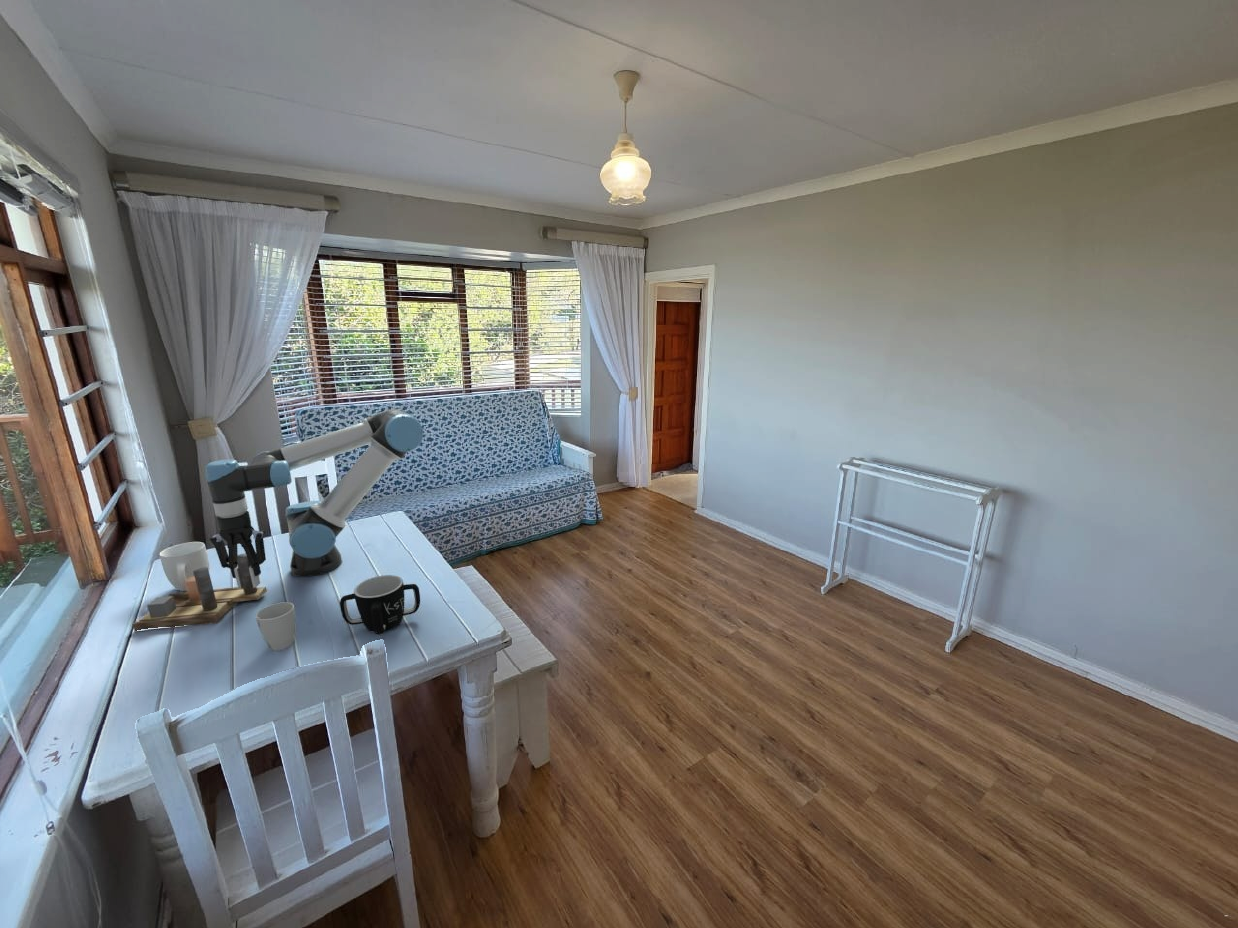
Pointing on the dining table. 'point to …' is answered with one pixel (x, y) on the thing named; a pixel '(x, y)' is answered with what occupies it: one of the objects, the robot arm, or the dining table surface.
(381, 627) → the mug
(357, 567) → the dining table surface
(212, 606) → the strip
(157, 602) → the rubber block
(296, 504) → the robot arm
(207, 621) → the lane board
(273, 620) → the cup
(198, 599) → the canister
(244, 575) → the strip
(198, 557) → the mug
